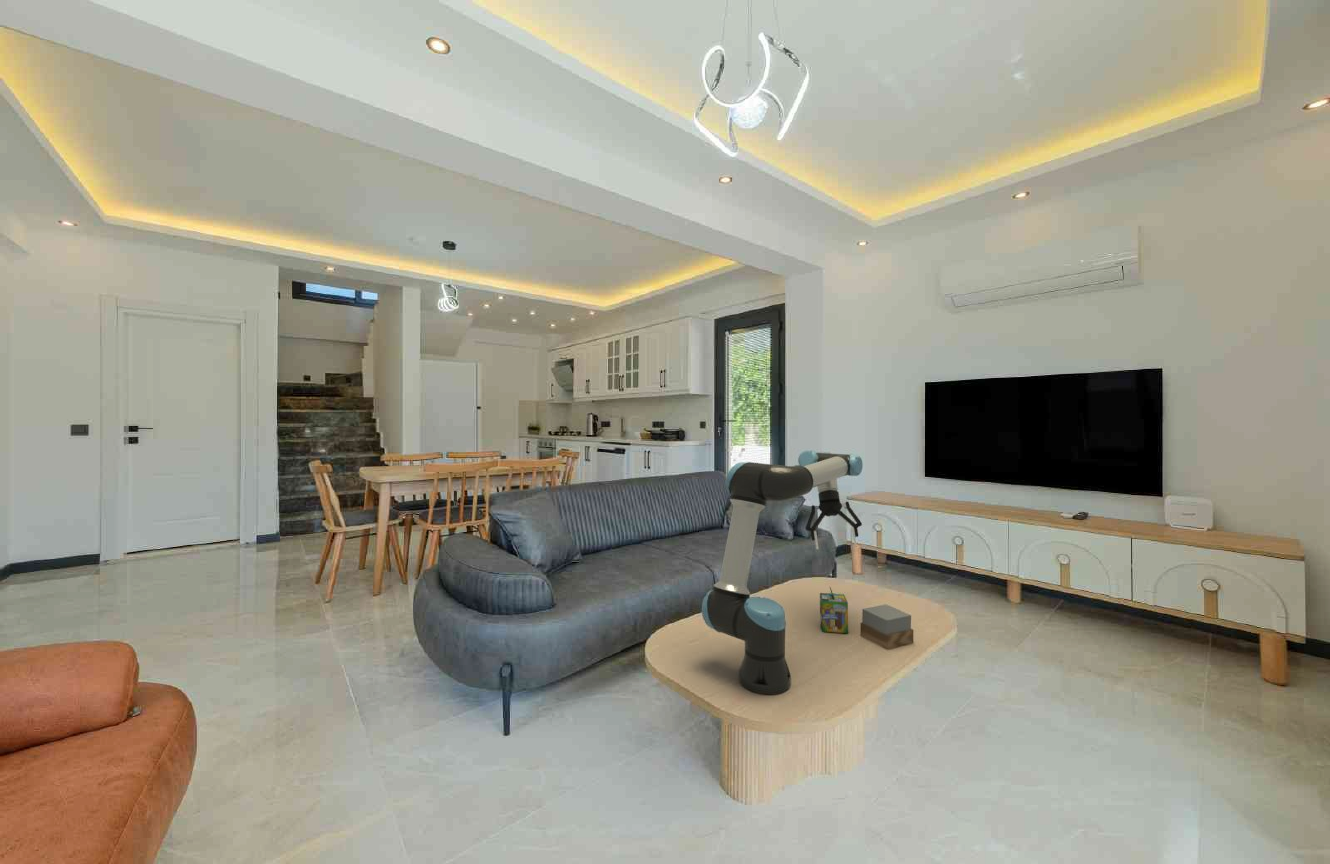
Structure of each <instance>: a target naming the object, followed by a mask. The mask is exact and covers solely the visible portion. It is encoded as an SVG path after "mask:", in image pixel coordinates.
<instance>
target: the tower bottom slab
mask: <svg viewBox="0 0 1330 864" xmlns="http://www.w3.org/2000/svg"><path fill="white" fill-rule="evenodd" d="M859 635H860V637H862V638H864V639H866V640H867V641H870V642H872V643H874V644H876V645H878V646H880V647H882V648H883V649H885V650H887V651H889V650H893V649H896V648H899V647H900V648H901V647H903V646H908V645H911V644H914V629H913V628H911V630H907V631H903V632H898V633H894V634H890V635H885V634H883V633H881V632H879V631H877V630H875V629H874V628H872V627H870V626H868V625H866V624H864V623H862V622H860V633H859Z"/></svg>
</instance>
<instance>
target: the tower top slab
mask: <svg viewBox="0 0 1330 864" xmlns="http://www.w3.org/2000/svg"><path fill="white" fill-rule="evenodd" d="M861 616H862V617H861V618H862V619H861V620H862V622H861V623H864V624H866V625H868V626H870V627H872V628H874V629H875V630H877V631H879V632H881V633H883V634H885V635H890V634H894V633H898V632H903V631H907V630H911V629H912V615H911V614H909V613H907V612H904V611H902V610H901V609H897V608H895V607H893V606H891V605H888V604H886V603H885V604H881V605H875V606H870V607H865V608H862V615H861Z"/></svg>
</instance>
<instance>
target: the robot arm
mask: <svg viewBox="0 0 1330 864" xmlns="http://www.w3.org/2000/svg"><path fill="white" fill-rule="evenodd" d="M797 459H798V460H797V461H798V465H797V464H796V465H792V466H789V465H782V464H781V465H780V464H770V463H761V462H752V461H751V462H750V461H748V462H747V461H746V462H743V461H742V462H741V461H740V462H738V463H735V464H734V465H733V466H732V467H731V468H730V469H729V470H728V473H727V475H726V478H725V487H726V488H725V490H726V492H727V494H728V495H730V497H729V501H730V503H731V504H732V511H731V512H732V513H731V518H730V523H729V529H728V532H727V538H726V545H725V550H724V554H723V558H722V559H723V561H722V564H721V565H722V567H721V570H720V577H719V581H717V582H715V584H713V588H712V589H711V590H709V591H707V592H706V594H705V595H706V596H704V597H703V600H702V603H701V615H702V619H703V621H704V623H705V624H706V626H708V627H709V628H710V629H712V630H714V631H716V632H717V633H722V634H724V635H727V636H730V637H732V638H734V639H738V640H741V641H743V642H744V655H743V658H742V661H741V664H740V667H739V670H738V681H739V684H740V685H741V686H742V687H743V688H745V689H746V690H748V691H750V692H752V693H755V694H760V695H761V694H762V695H778V694H782V693H785V692H786V691H788V690H789V689H790V688H791V685H792V675H791V672H790V669H789V666H788V665H789V664H788V663H787V659H786V653H785V652H786V625H787V623H786V621H787V620H786V613H785V610H784V607H783V606H782V605H781V603H779V602H777V600H774V599H771V598H769V597H766V596H765V597H764V596H763V597H761V596H751V597H750V595H751V592H750V591H749V588H748V587H747V585H748V581H749V574H750V569H751V562H752V557H753V552H754V551H753V550H754V546H755V541H756V535H757V529H758V524H759V518H760V513H761V511H763V510H764V509H765V508H766V506H767V502H774V503H775V502H776V503H777V502H784V501H789V500H792V499H796V498H800V497H802V496H804V495H807V494H808V493H809V494H810V492H811V491H812V490H813V488H816V487H817V488H816V489H817V492H818V501H819V505H814V504H812V505H811V512H810V515H809V517H808V520H807V523H806V526H805V531H807V532H810V536H811V540H812V541H814V543H815V549H816V550H820V548H819V541H818V534H817V533H818V532H817V528H818V527H819V525H820V524H821V522H822V520H823V519H824V518H825V517H836V516H837V515H838V516H840V518H842V520H844V521H845V522H847V523H848V524H849V525H850V526H851V531H852V537H853V543H854V548H855V547H858V544H857V538H858V537H859V531H858V528H860V527H862V525H863V524H862V521H861V520H860V519H859V518H858V516H857V514H856V513H855V511H854V510H853V509H852V508H851V505H850V502H849V501H846V502H842V503H841V499H840V494H839V491H838V490H839V487H838V479H839V478H842V477H845V476H850V477H857V476H859V475H861V473H862V471H863V460H862V457H861V456H860V455H857V454H850V453H849V454H848V453H847V454H844V453H843V454H842V453H831V452H830V451H829V452H827V451H822V452H821V451H819V452H816V451H815V450H811V449H805V450H803V451H802V452H800V453H799V455H798V458H797ZM842 507H843V509H846V510H847V511H848V513H849V514H850V516H851V517H852V519H853V520H854V521H855V522H854V521H853V520H852V519H851V518H849V516H847V515H846V513H844V512H843V511H842ZM818 510H819V511H820V512H821V513H820V514H819V516H818V518H817V519H816V520H815V522H814V523H812V522H813V520H814V517H815V515H816V513H817V512H818Z"/></svg>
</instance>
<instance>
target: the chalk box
mask: <svg viewBox="0 0 1330 864" xmlns="http://www.w3.org/2000/svg"><path fill="white" fill-rule="evenodd" d="M829 589H830V592H828V593H827V592H826V593H825V592H820V593H819V625H820V629H821V632H822V633H833V634H835V633H837V634H849V613H848V612H849V610H848V609H849V603H848V600H847V598H846V595H845V594H842V593H833V589H832V587H831V586H829Z"/></svg>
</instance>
